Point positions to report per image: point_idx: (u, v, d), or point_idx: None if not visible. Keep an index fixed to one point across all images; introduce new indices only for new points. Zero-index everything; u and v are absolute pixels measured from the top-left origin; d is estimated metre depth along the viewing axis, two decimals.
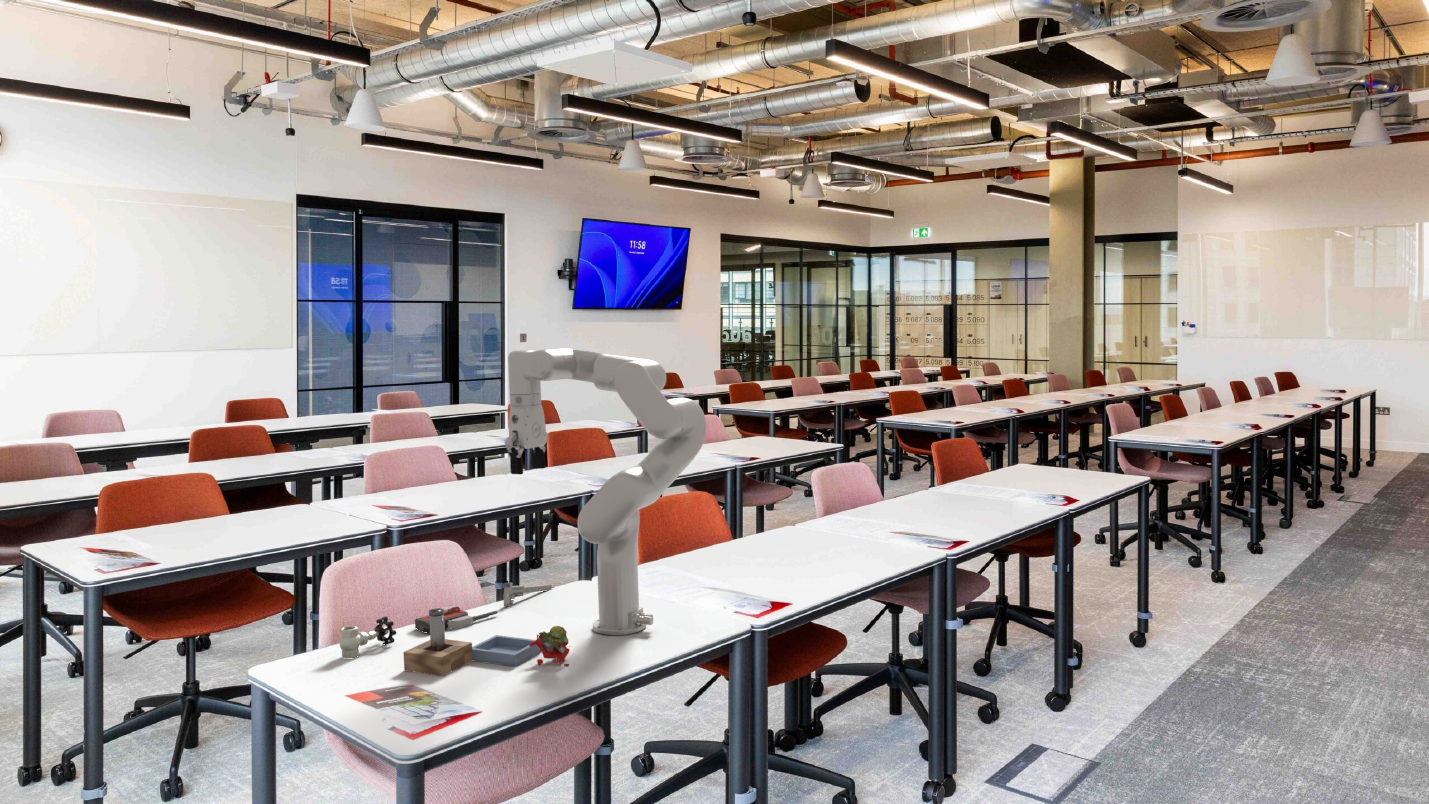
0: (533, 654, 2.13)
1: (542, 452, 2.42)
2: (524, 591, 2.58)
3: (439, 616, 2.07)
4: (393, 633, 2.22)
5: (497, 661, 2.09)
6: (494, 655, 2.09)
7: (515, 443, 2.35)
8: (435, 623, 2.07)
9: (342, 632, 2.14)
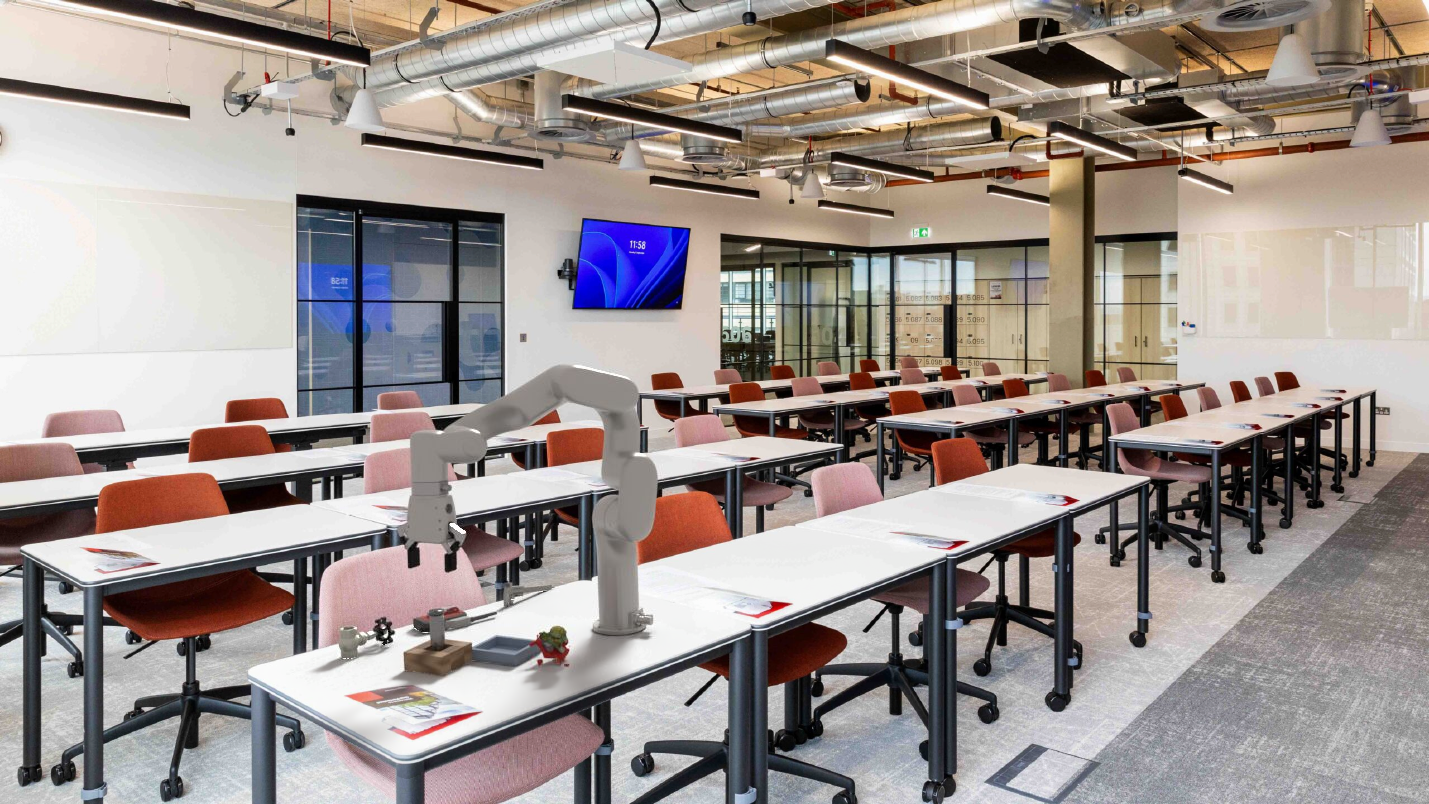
0: (533, 654, 2.13)
1: (417, 547, 2.10)
2: (524, 591, 2.58)
3: (439, 616, 2.07)
4: (392, 633, 2.22)
5: (497, 661, 2.09)
6: (494, 655, 2.09)
7: None
8: (435, 623, 2.07)
9: (341, 632, 2.14)
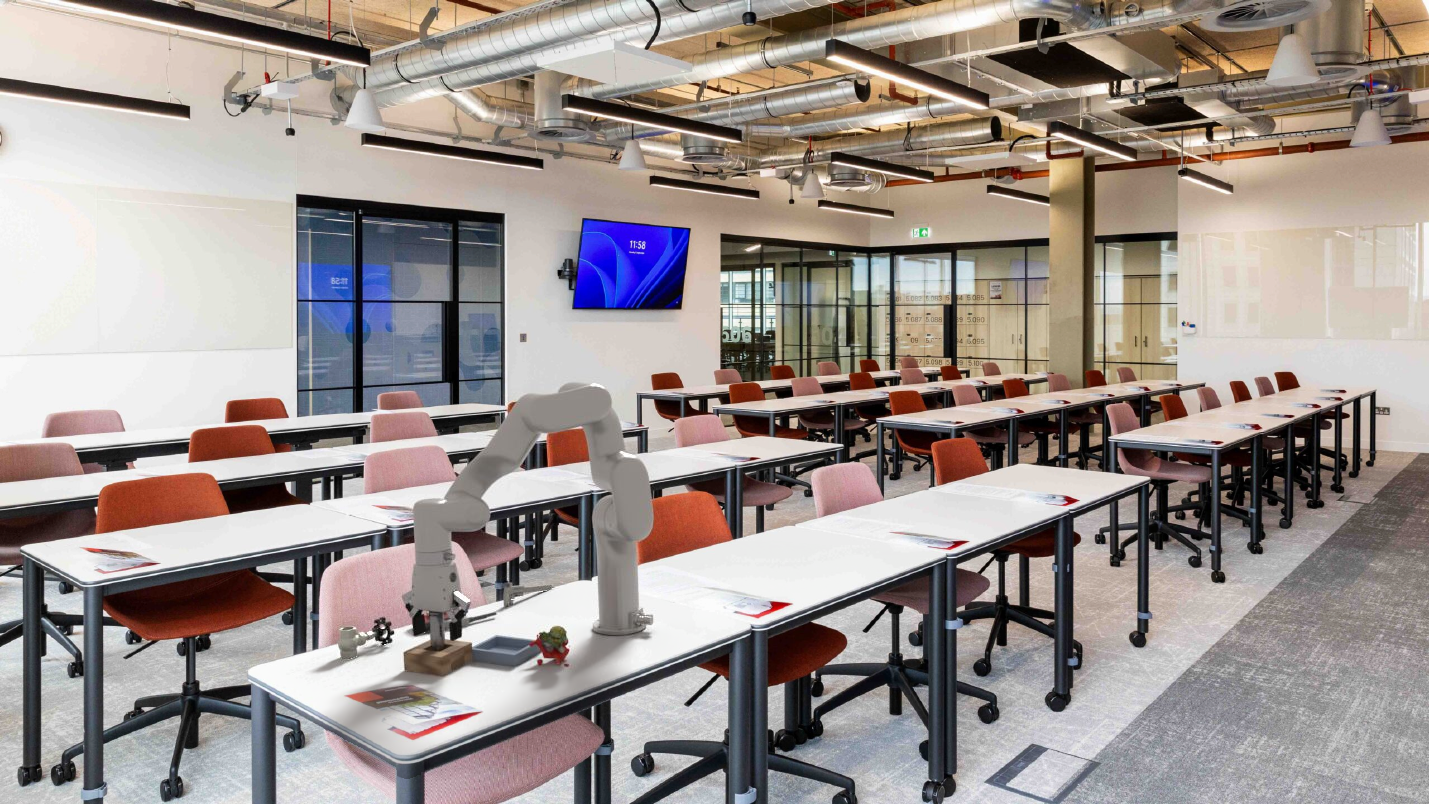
0: (533, 654, 2.13)
1: (422, 614, 2.11)
2: (524, 591, 2.58)
3: (439, 616, 2.07)
4: (391, 633, 2.22)
5: (497, 661, 2.09)
6: (494, 655, 2.09)
7: None
8: (435, 623, 2.07)
9: (341, 632, 2.14)
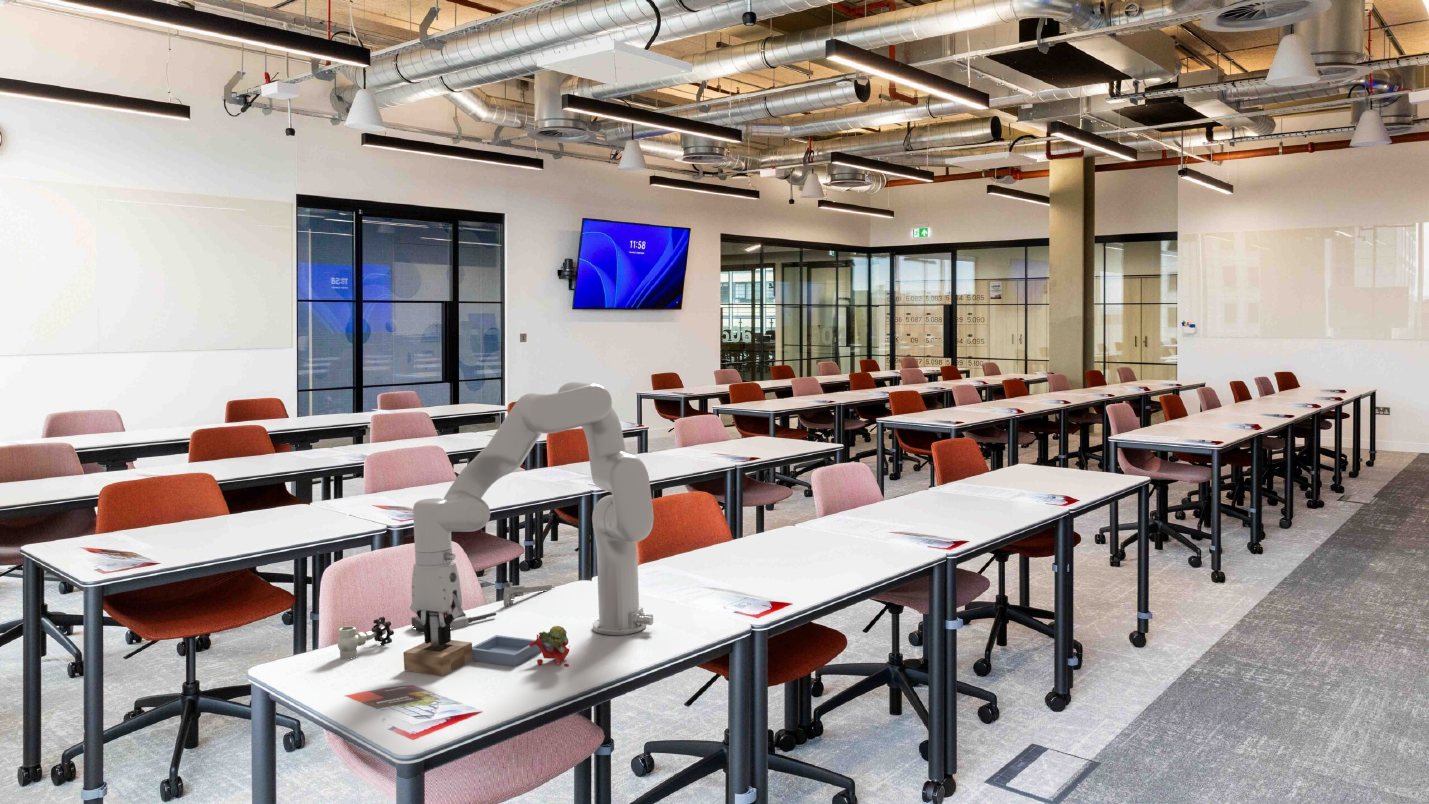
0: (533, 654, 2.13)
1: None
2: (524, 591, 2.58)
3: None
4: (391, 633, 2.22)
5: (497, 661, 2.09)
6: (494, 655, 2.09)
7: None
8: (435, 623, 2.07)
9: (340, 632, 2.14)
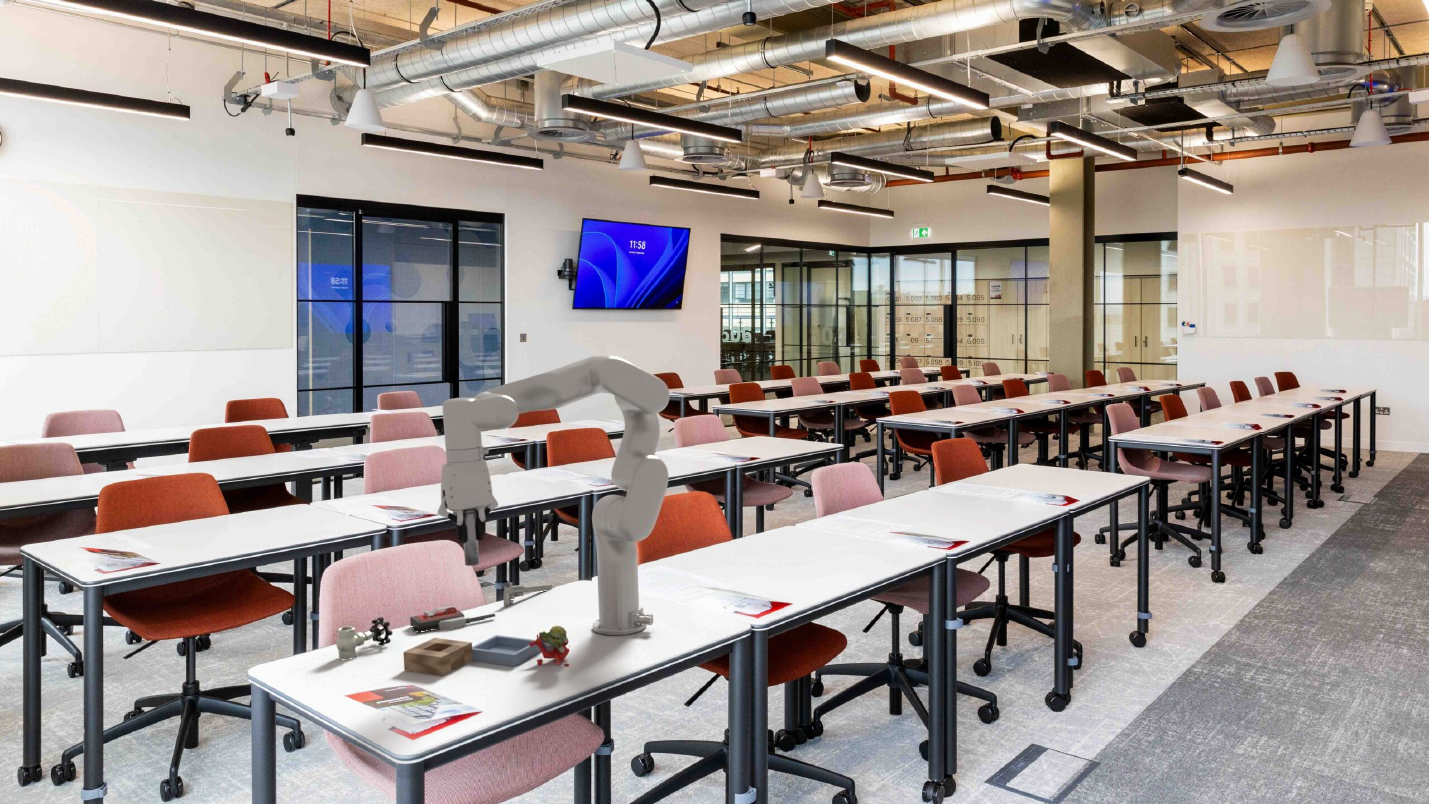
0: (533, 654, 2.13)
1: None
2: (524, 591, 2.58)
3: (475, 512, 2.09)
4: (389, 633, 2.22)
5: (497, 661, 2.09)
6: (494, 655, 2.09)
7: None
8: (474, 519, 2.09)
9: (339, 633, 2.14)
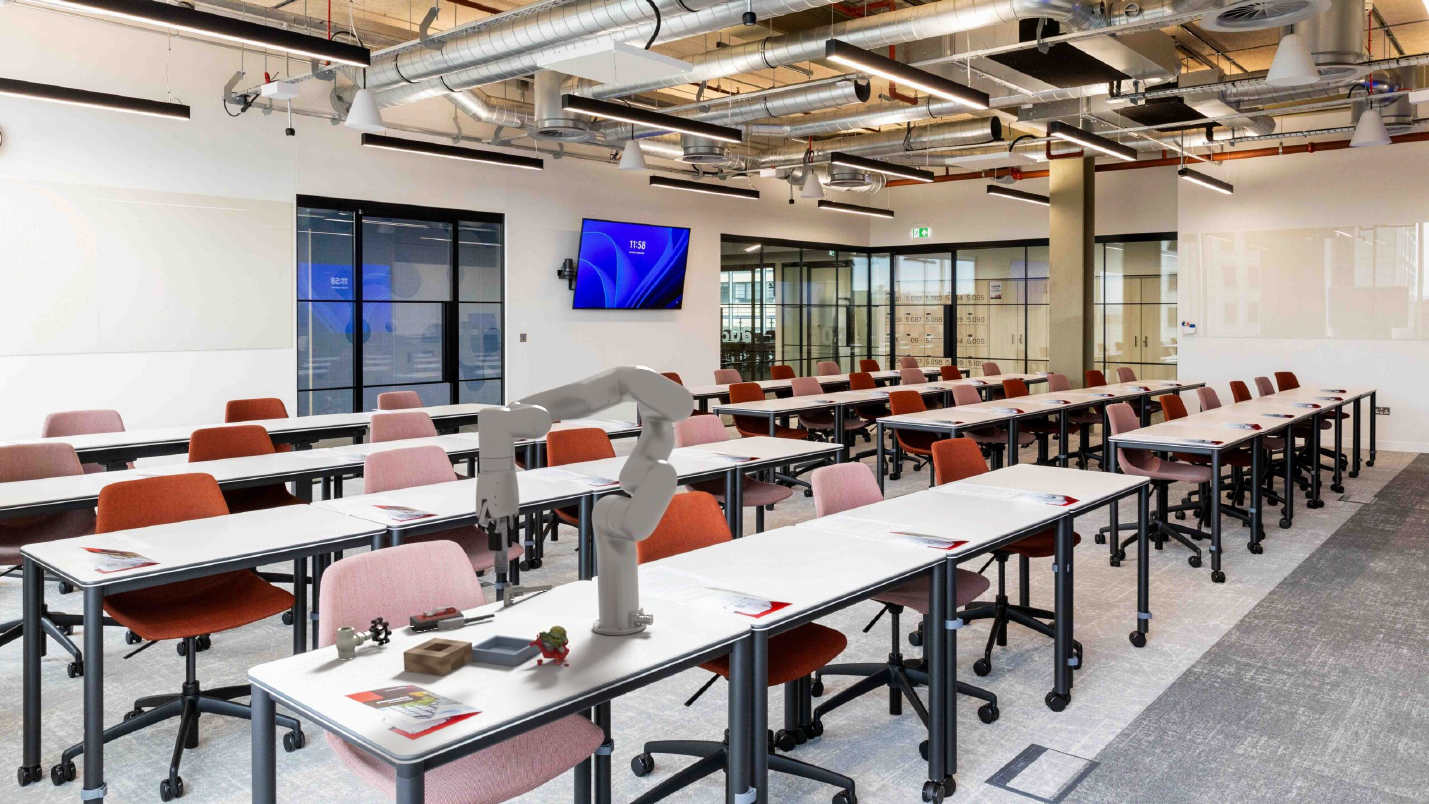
0: (533, 654, 2.13)
1: None
2: (524, 591, 2.58)
3: None
4: (389, 633, 2.22)
5: (497, 661, 2.09)
6: (494, 655, 2.09)
7: None
8: None
9: (339, 633, 2.14)
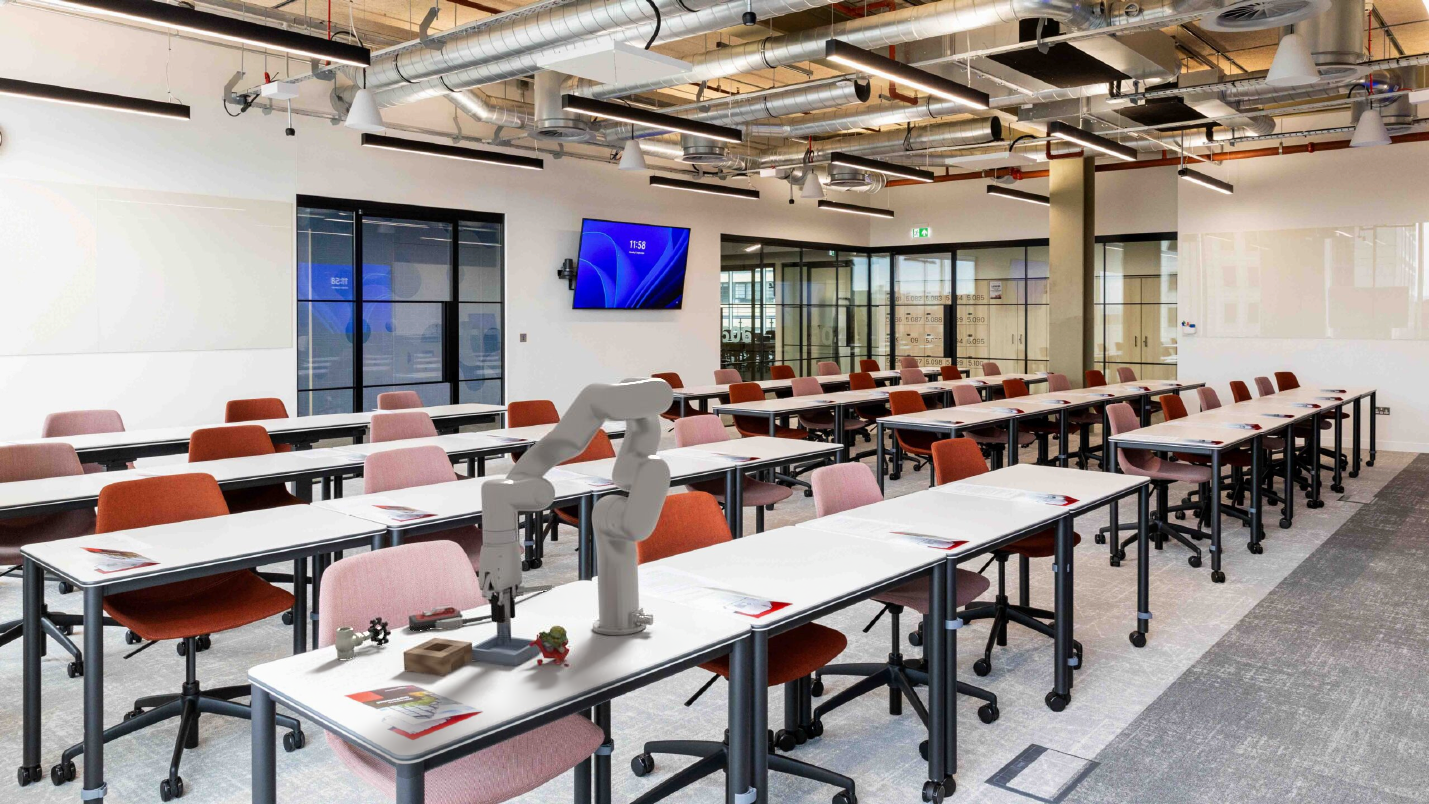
0: (533, 654, 2.13)
1: None
2: (524, 591, 2.59)
3: None
4: (388, 633, 2.21)
5: (497, 661, 2.09)
6: (494, 655, 2.09)
7: None
8: (509, 598, 2.13)
9: (338, 633, 2.13)
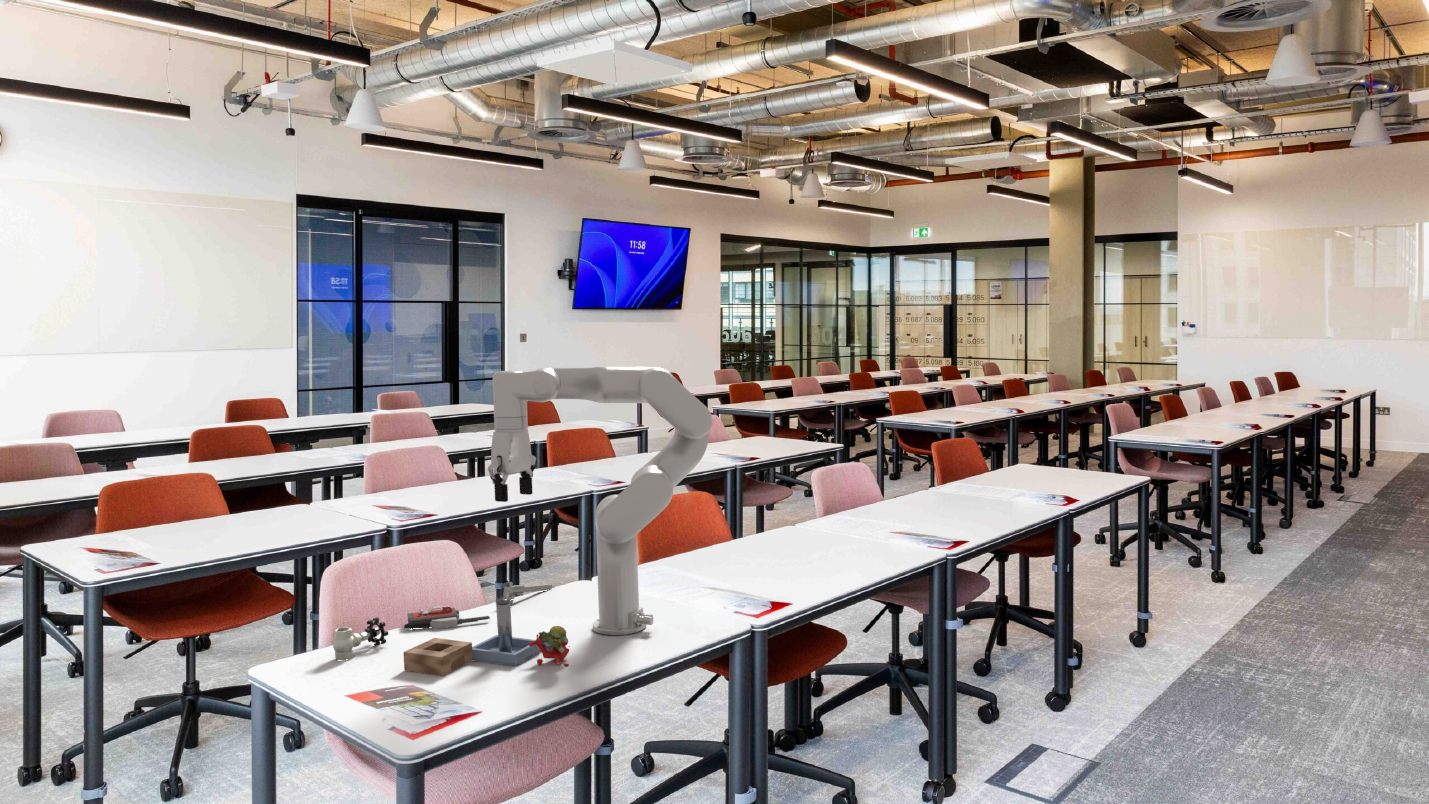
0: (533, 654, 2.13)
1: None
2: (524, 590, 2.59)
3: None
4: (385, 634, 2.21)
5: (497, 661, 2.09)
6: (494, 655, 2.09)
7: None
8: (510, 609, 2.13)
9: (336, 634, 2.13)
